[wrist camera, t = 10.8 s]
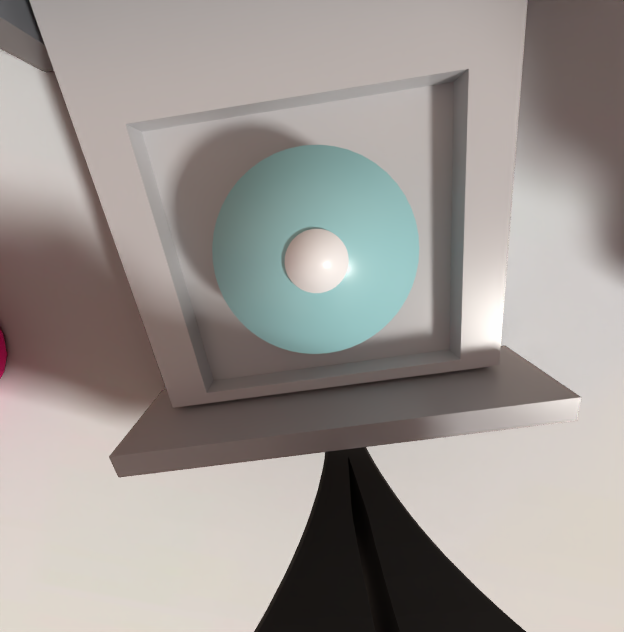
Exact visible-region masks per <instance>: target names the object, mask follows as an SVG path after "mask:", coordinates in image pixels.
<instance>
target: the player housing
mask: <svg viewBox="0 0 624 632" xmlns="http://www.w3.org/2000/svg"><path fill="white" fill-rule="evenodd" d="M0 49H2V50H4V51H6V52H8V53H10V54H12V55H14V56H16V57H17V58H19V59H21V60H23V61H25V62H27V63H29V64H31V65H33V66H34V67H36V68H38V69H40V70H42V71H44V72H49V71H54V69H53V66H52V63H51V61H50V58H49V55H48V52H47V49H46V46H45V44H44V41H43V38H42V35H41V32H40V29H39V27H38V24H37V21H36V18H35V15H34V12H33V10H32V7H31V4H30V1H29V0H0Z"/></svg>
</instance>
